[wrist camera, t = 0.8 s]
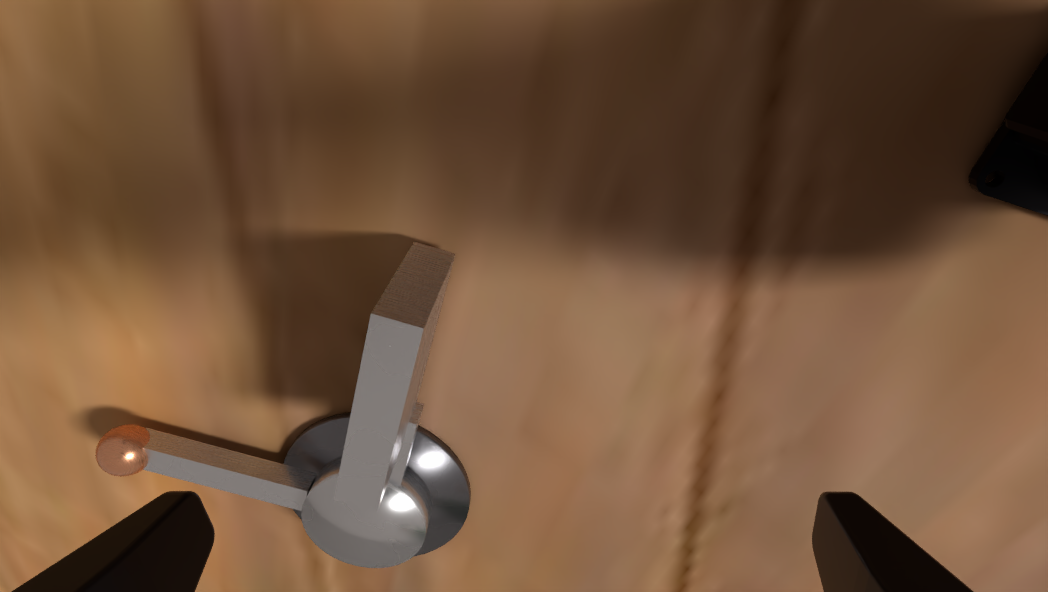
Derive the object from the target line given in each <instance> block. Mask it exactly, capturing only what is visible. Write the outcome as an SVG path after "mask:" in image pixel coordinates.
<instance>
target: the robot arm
mask: <svg viewBox="0 0 1048 592" xmlns="http://www.w3.org/2000/svg"><path fill="white" fill-rule="evenodd" d="M994 171H996V176H995V178H994V179H993V180H992V181H991V182H988V183H986V182H985V180H986V178H987V176H988V175H989V174H990V173H991V172H994ZM969 184H970V186H971V188H973V189H974V190H976V191H978V192H980V193H982V194H984V195H986V196H990V197H993V198H996V199H999V200H1002V201H1005V202H1008V203H1011V204H1014V205H1017V206H1020V207H1023V208H1026V209H1029V210H1032V211H1035V212H1039V213H1042V214H1045V215H1048V53H1047V55H1046V56H1045V58H1044V59H1043V61H1042V62H1041V64H1040V65H1039V67H1038V68H1037V70H1036V71H1035V73H1034V74H1033V76H1032V77H1031V79H1030V80H1029V82H1028V83H1027V85H1026V86H1025V88H1024V89H1023V91H1022V92H1021V94H1020V95H1019V97H1018V98H1017V100H1016V101H1015V103H1014V104H1013V106H1012V107H1011V109H1010V110H1009V112H1008V113H1007V115H1006V117H1005V121H1004V122H1003V124H1002V125H1001V127H1000V128H999V130H998V131H997V133H996V134H995V136H994V137H993V139H992V140H991V142H990V143H989V145H988V146H987V148H986V149H985V151H984V152H983V154H982V155H981V157H980V158H979V160H978V161H977V163H976V164H975V166H974V167H973V169H972V170H971V173H970V175H969ZM214 534H215V533H214V528H213V525H212V523H211V521H210V519H209V516H208V514H207V512H206V510H205V508H204V506H203V503H202V501H201V499H200V497H199V496H198V495H197V494H196V493H195V492H192V491H170V492H166V493H164V494H162V495H160V496H159V497H157V498H156V499H154V500H153V501H151V502H149V503H148V504H146V505H145V506H143V507H142V508H140V509H139V510H137V511H135V512H134V513H132V514H131V515H129V516H128V517H126V518H125V519H123V520H122V521H120V522H118V523H117V524H115V525H114V526H112V527H111V528H109V529H108V530H106V531H105V532H103V533H101V534H100V535H98V536H97V537H95V538H94V539H92V540H91V541H89V542H88V543H86V544H84V545H83V546H81V547H80V548H78V549H77V550H75V551H74V552H72V553H70V554H69V555H67V556H66V557H64V558H63V559H61V560H60V561H58V562H57V563H55V564H53V565H52V566H50V567H49V568H47V569H46V570H44V571H43V572H41V573H40V574H38V575H36V576H35V577H33V578H32V579H30V580H29V581H27V582H26V583H24V584H23V585H21V586H19V587H18V588H16V589H15V590H13V591H12V592H195V590H196V587H197V585H198V582H199V580H200V577H201V574H202V572H203V569H204V567H205V564H206V562H207V559H208V557H209V554H210V552H211V549H212V546H213V543H214ZM812 545H813V551H814V556H815V559H816V563H817V567H818V571H819V575H820V578H821V582H822V586H823V590H824V592H973V591H972V590H971V589H970V588H969V587H968V586H966V585H965V584H964V583H963V582H962V581H960V580H959V579H958V578H957V577H956V576H954V575H953V574H952V573H951V572H950V571H948V570H947V569H946V568H945V567H944V566H942V565H941V564H940V563H939V562H938V561H937V560H935V559H934V558H933V557H932V556H931V555H929V554H928V553H927V552H926V551H925V550H923V549H922V548H921V547H920V546H919V545H917V544H916V543H915V542H914V541H913V540H912V539H910V538H909V537H908V536H907V535H906V534H904V533H903V532H902V531H901V530H900V529H898V528H897V527H896V526H895V525H894V524H892V523H891V522H890V521H889V520H888V519H886V518H885V517H884V516H883V515H882V514H881V513H879V512H878V511H877V510H876V509H875V508H873V507H872V506H871V505H870V504H869V503H867V502H866V501H865V500H864V499H863V498H861V497H860V496H859V495H857V494H855V493H853V492H824V493H822V494H821V495H820V497H819V500H818V505H817V511H816V516H815V522H814V527H813V533H812Z"/></svg>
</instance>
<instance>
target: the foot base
mask: <svg viewBox="0 0 1048 592" xmlns="http://www.w3.org/2000/svg"><path fill="white" fill-rule="evenodd" d="M350 415H351V413H344V414H339V415H334V416H331V417H328V418H325V419H322V420H320V421H318V422H316V423H315V424H313V425H311V426H310V427H308V428H307V429H306V430H304V431H303V432H302V433H301V434H300V435H299V436H298V437H297V439H296V440H295V442H294V443H293V445H292V446H291V448H290V450H289V451H288V453H287V456H286V458H285V460H284V464H285V465H289V466H292V467H296V468H300V469H304V470H307V471H311V472H315V473H317V475H316V478H317V476H318V474H319V472H320V471H321V469H322V468H323V467H324V466H325V465H326V464H327V463H329V462H330V461H332V460H334V459H336V458H338V457H341V456H342V455H343V450H344V445H345V440H346V435H347V430H348V425H349V420H350ZM407 466H408V467H409V468H410V469H412V470H413V471H414V472H415V473H417V474H418V475H419V476H420V477H421V479H422V480H423V481H424V482H425V484H426V485H427V487H428V489H429V491H430V494H431V497H432V513H431V517H430V520H429V524H428V528H427V532H426V536H425V539H424V542H423V545H422V547H421V548H420V550H419V551H418V552H417V553H416V554H415V555H414V556H417V555H421V554H425V553H428V552H430V551H433V550H435V549H437V548H439V547H441V546H443V545H444V544H446V543H447V542H448V541H450V540H451V539H452V538H453V537H454V536H455V535H456V534H457V533H458V532H459V530H460V529H461V527H462V526H463V524H464V522H465V520H466V518H467V514H468V510H469V505H470V496H471V491H470V483H469V480H468V476H467V473H466V471H465V469H464V467H463V465H462V463H461V462H460V460H459V459H458V457H457V456H456V455H455V454H454V452H453V451H452V450H451V449H450V448H449V447H448V446H447V445H446V444H445V443H444V442H443V441H442V440H440V439H439V438H438V437H436V436H435V435H434V434H432V433H431V432H429V431H427V430H426V429H424V428H422V427H420V426H418V428H417V432H416V436H415V439H414V443H413V447H412V450H411V454H410V458H409V461H408V465H407ZM294 511H295V513H296V514H297V515H298V516H299V517H300V519H301V520H302V517H301V512H302V511H300V510H296V509H294Z"/></svg>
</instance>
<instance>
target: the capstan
mask: <svg viewBox="0 0 1048 592" xmlns="http://www.w3.org/2000/svg"><path fill="white" fill-rule="evenodd" d="M454 258H455V254H454V253H451V252H448V251H444V250H441V249H437V248H434V247H431V246H427V245H424V244H421V243H417V242H414V243H413V244H412V246H411V248H410V249H409V251H408V253H407V254H406V256H405V258H404V259H403V261H402V263H401V264H400V266H399V268H398V269H397V271H396V272H395V274H394V276H393V277H392V279H391V281H390V282H389V284H388V286H387V287H386V289H385V291H384V292H383V294H382V296H381V297H380V299H379V301H378V302H377V304H376V306H375V307H374V309H373V311H372V312H371V315H370V320H369V325H368V330H367V335H366V340H365V345H364V350H363V355H362V360H361V365H360V370H359V375H358V380H357V385H356V390H355V395H354V400H353V405H352V410H351V415H350V420H349V425H348V430H347V435H346V440H345V445H344V450H343V455H342V456H341V457H338V458H336V459H334V460H332V461H330V462H329V463H327V464H326V465H325V466H324V467H323V468H322V469H321V471H320V472H319V474H318V476H317V478H316V475H317V473H315V472H311V471H307V470H304V469H300V468H296V467H292V466H289V465H285V464H281V463H277V462H274V461H270V460H266V459H262V458H259V457H255V456H251V455H247V454H244V453H240V452H236V451H232V450H228V449H225V448H221V447H217V446H213V445H210V444H206V443H202V442H198V441H195V440H191V439H187V438H183V437H180V436H176V435H172V434H168V433H165V432H161V431H157V430H153V429H150V428H144V427H142V426H139V425H134V424H126V425H121V426H117V427H115V428H113V429H111V430H110V431H108V432H107V433H106V434H105V435H104V436H103V437H102V438H101V439H100V441H99V443H98V445H97V448H96V460H97V463H98V465H99V466H100V467H101V469H103V470H104V471H105V472H107V473H109V474H111V475H114V476H129V475H133V474H136V473H138V472H140V471H142V470H147V471H151V472H154V473H158V474H162V475H166V476H170V477H174V478H177V479H181V480H185V481H189V482H193V483H196V484H200V485H204V486H208V487H212V488H216V489H219V490H223V491H227V492H231V493H235V494H239V495H242V496H246V497H250V498H254V499H258V500H261V501H265V502H269V503H273V504H277V505H281V506H284V507H288V508H292V509H296V510H300V511H302V512H301V517H302V523H303V526H304V528H305V530H306V532H307V534H308V536H309V537H310V538H311V540H312V541H313V542H314V543H315V544H316V545H317V546H318V547H319V548H320V549H322V550H323V551H324V552H326V553H327V554H329V555H330V556H332V557H334V558H336V559H338V560H340V561H343V562H345V563H348V564H352V565H356V566H360V567H368V568H384V567H391V566H395V565H398V564H401V563H403V562H405V561H407V560H409V559H411V558H412V557H413V556H414V555H415V554H416V553H417V552H418V551H419V550H420V548H421V547H422V545H423V542H424V539H425V536H426V532H427V528H428V524H429V520H430V517H431V513H432V497H431V494H430V491H429V489H428V487H427V485H426V484H425V482H424V481H423V480H422V479H421V477H420V476H419V475H418V474H417V473H415V472H414V471H413V470H412V469H410V468H409V467H408V466H407V465H408V461H409V458H410V454H411V450H412V447H413V443H414V439H415V436H416V432H417V428H418V425H419V421H420V417H421V414H422V410H423V406H424V404H422V403H419V402H417V398H418V394H419V390H420V386H421V383H422V379H423V375H424V371H425V367H426V364H427V360H428V356H429V352H430V349H431V345H432V341H433V337H434V333H435V330H436V326H437V322H438V318H439V314H440V311H441V307H442V303H443V299H444V296H445V292H446V288H447V284H448V280H449V277H450V273H451V269H452V265H453V261H454Z"/></svg>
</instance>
